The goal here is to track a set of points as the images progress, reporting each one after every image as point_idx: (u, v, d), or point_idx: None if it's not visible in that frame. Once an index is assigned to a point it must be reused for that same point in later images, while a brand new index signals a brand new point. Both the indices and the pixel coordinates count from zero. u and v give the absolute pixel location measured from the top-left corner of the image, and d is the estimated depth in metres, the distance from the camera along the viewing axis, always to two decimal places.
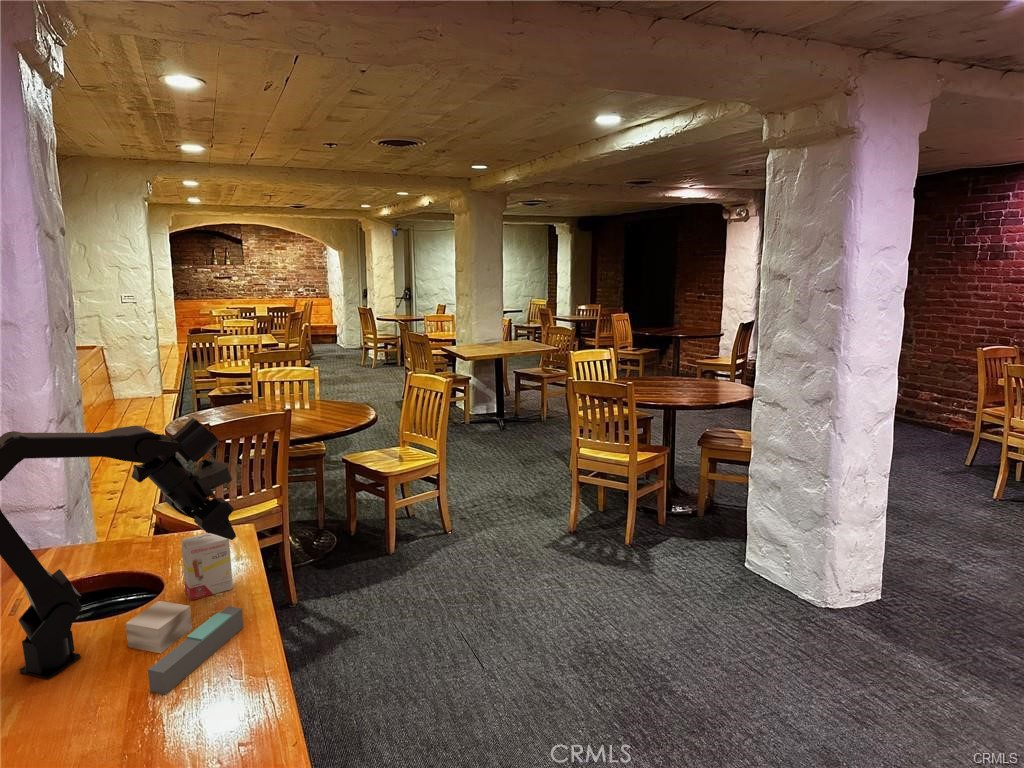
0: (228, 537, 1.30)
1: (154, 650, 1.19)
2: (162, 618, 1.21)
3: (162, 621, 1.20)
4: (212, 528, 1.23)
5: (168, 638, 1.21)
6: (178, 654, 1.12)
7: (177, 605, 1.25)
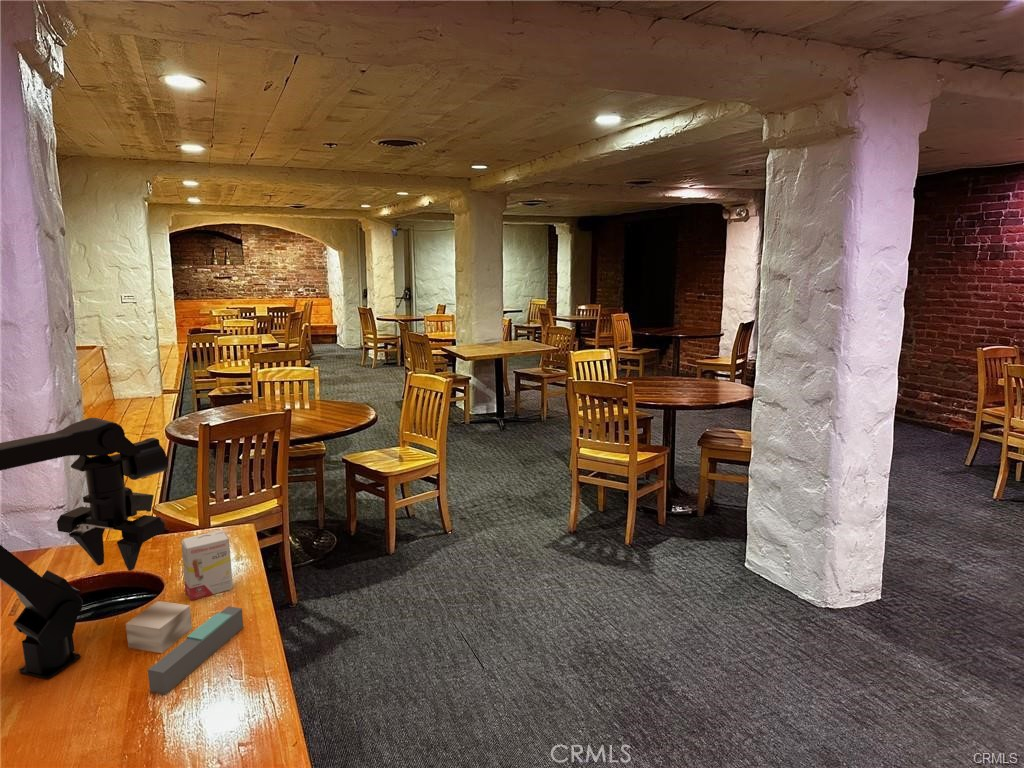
0: (130, 565, 1.21)
1: (155, 650, 1.19)
2: (162, 618, 1.21)
3: (163, 621, 1.20)
4: (145, 539, 1.17)
5: (169, 638, 1.21)
6: (178, 654, 1.12)
7: (177, 605, 1.26)
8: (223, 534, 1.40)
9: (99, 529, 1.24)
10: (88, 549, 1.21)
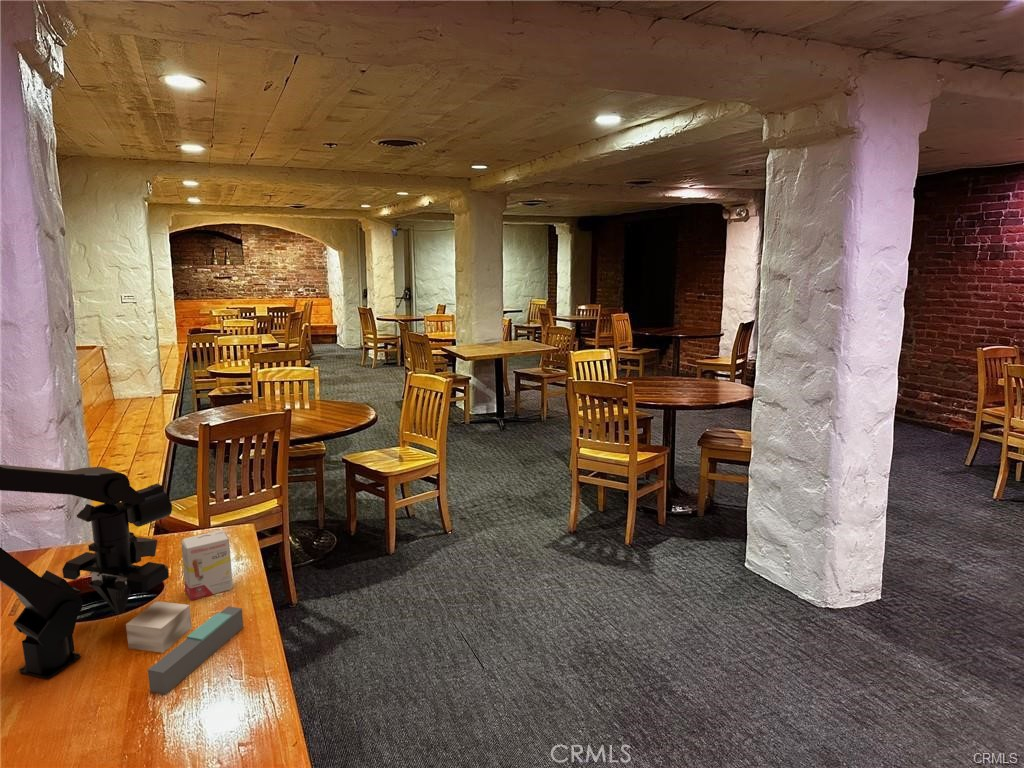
0: (120, 609, 1.24)
1: (156, 650, 1.19)
2: (163, 618, 1.21)
3: (164, 621, 1.20)
4: (150, 587, 1.19)
5: (170, 637, 1.21)
6: (178, 654, 1.12)
7: (176, 605, 1.26)
8: (223, 534, 1.40)
9: None
10: (107, 598, 1.22)
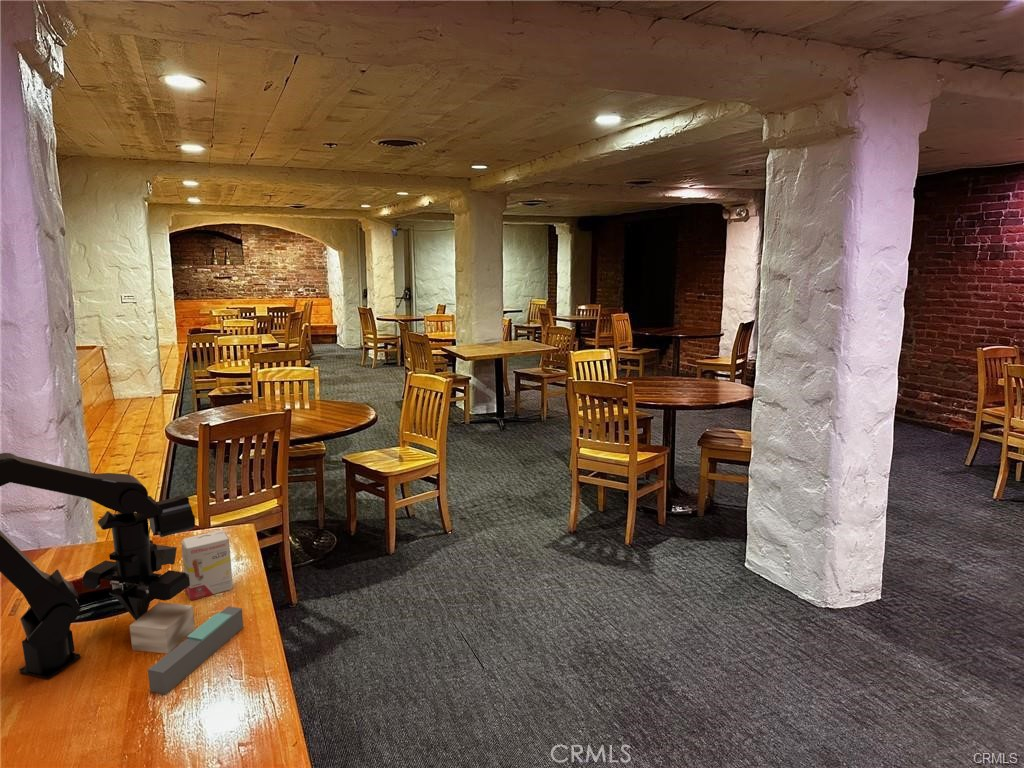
0: None
1: (161, 651, 1.19)
2: (166, 618, 1.21)
3: (168, 621, 1.20)
4: (172, 596, 1.18)
5: (174, 638, 1.21)
6: (178, 654, 1.12)
7: (179, 606, 1.25)
8: (223, 534, 1.40)
9: None
10: (128, 607, 1.22)
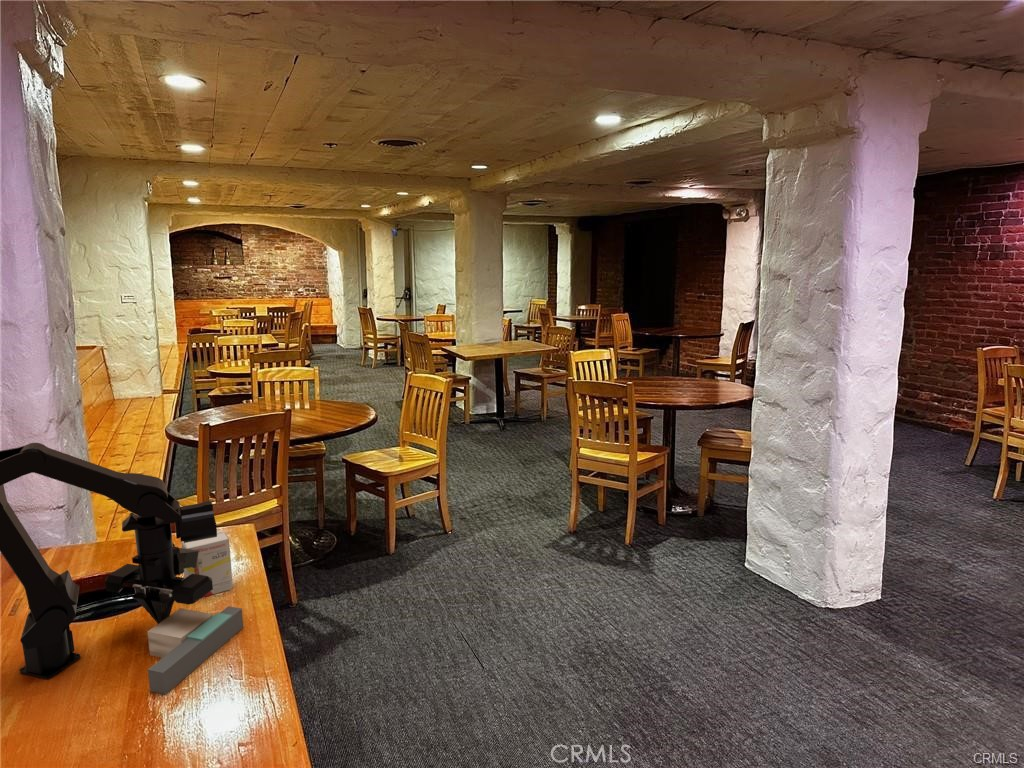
0: None
1: None
2: (184, 626, 1.19)
3: (185, 629, 1.18)
4: (195, 600, 1.17)
5: None
6: (178, 654, 1.12)
7: (199, 613, 1.23)
8: (223, 534, 1.40)
9: None
10: (151, 611, 1.20)
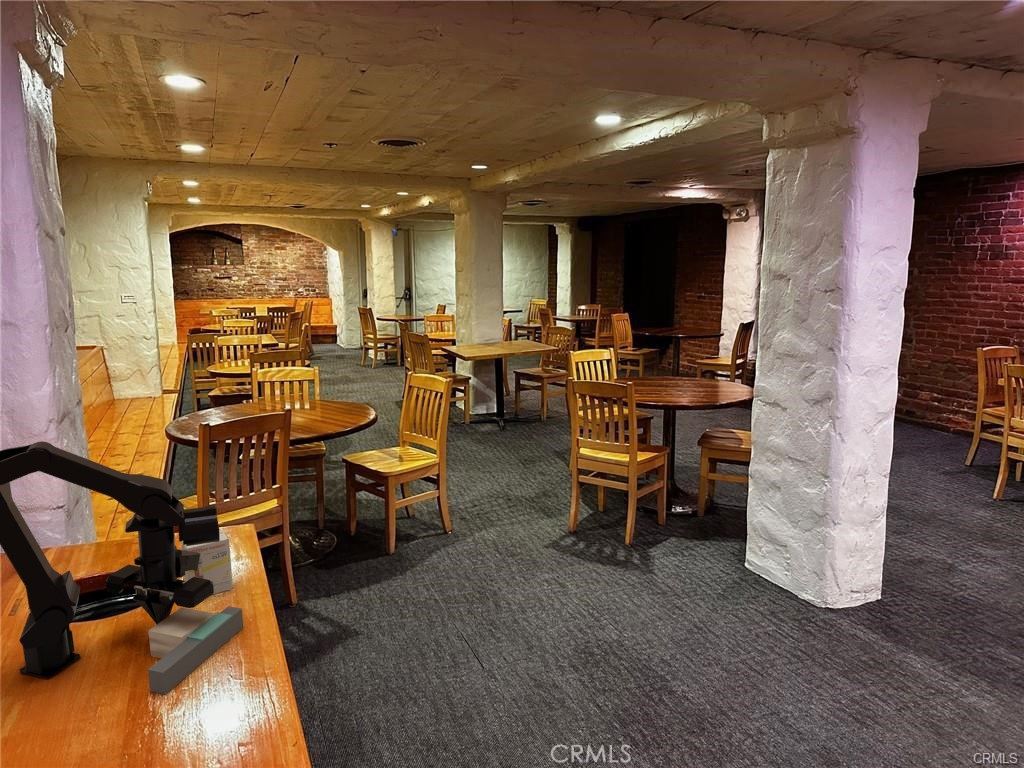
0: None
1: None
2: (185, 626, 1.19)
3: (186, 629, 1.18)
4: (196, 603, 1.17)
5: None
6: (178, 654, 1.12)
7: (200, 612, 1.23)
8: (223, 534, 1.40)
9: None
10: (152, 613, 1.20)
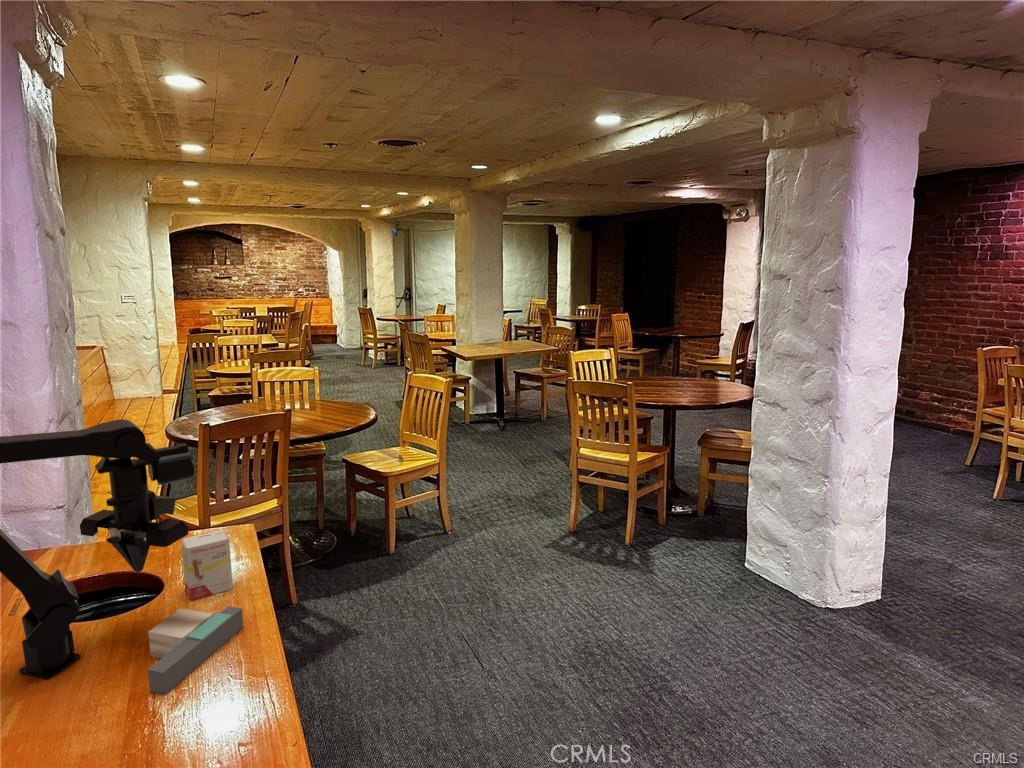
0: (138, 566, 1.21)
1: None
2: (185, 626, 1.19)
3: (186, 629, 1.18)
4: (169, 543, 1.16)
5: None
6: (178, 654, 1.12)
7: (200, 613, 1.23)
8: (223, 534, 1.40)
9: None
10: (126, 555, 1.19)
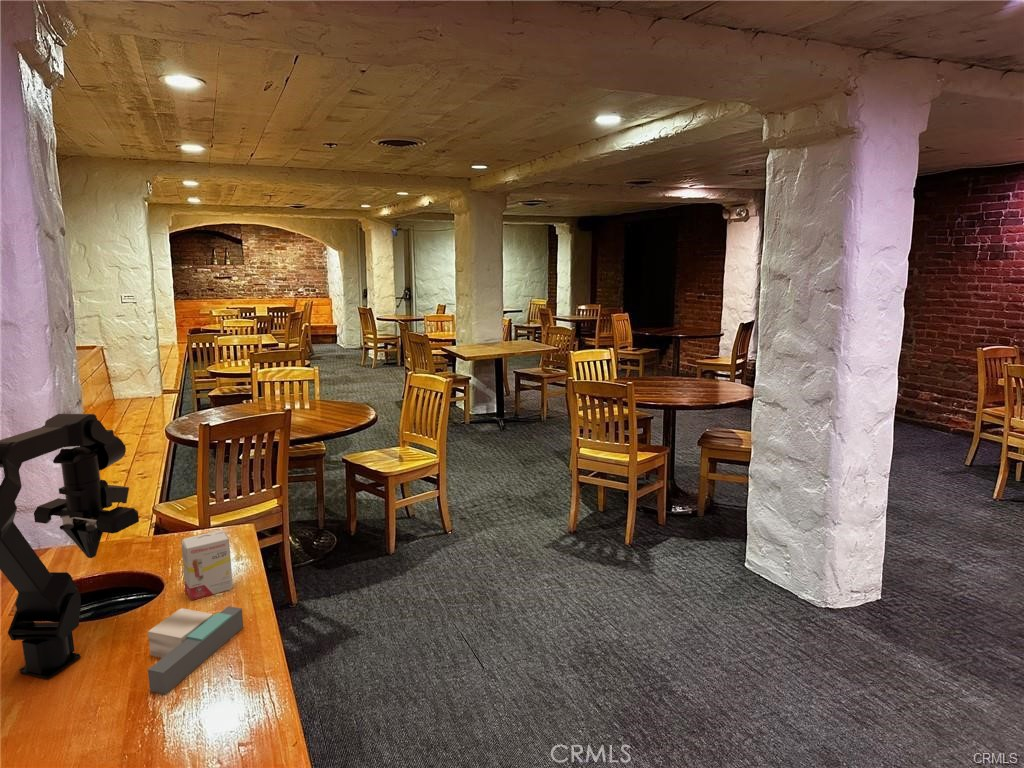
0: (91, 552, 1.25)
1: None
2: (184, 626, 1.19)
3: (185, 629, 1.18)
4: (119, 529, 1.21)
5: None
6: (178, 654, 1.12)
7: (200, 613, 1.23)
8: (223, 534, 1.40)
9: None
10: (78, 542, 1.24)
